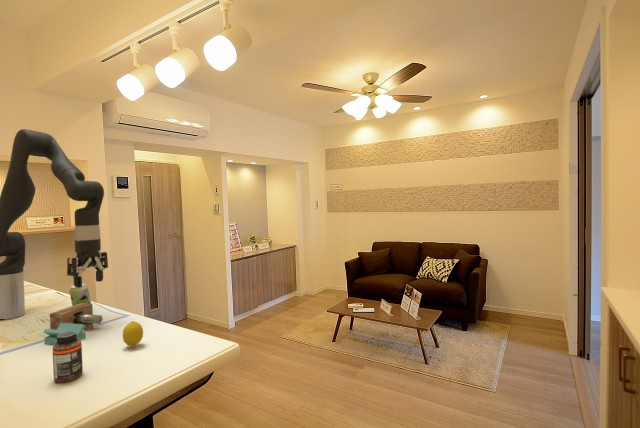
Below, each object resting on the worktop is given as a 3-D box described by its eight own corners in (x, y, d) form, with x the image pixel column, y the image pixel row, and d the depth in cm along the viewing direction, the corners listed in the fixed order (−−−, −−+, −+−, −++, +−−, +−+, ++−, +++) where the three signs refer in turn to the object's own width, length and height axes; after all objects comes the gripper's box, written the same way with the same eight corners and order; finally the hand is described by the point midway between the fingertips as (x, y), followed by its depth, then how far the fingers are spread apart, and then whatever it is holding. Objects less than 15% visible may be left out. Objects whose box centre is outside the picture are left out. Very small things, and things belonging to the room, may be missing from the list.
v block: (43, 344, 106) (42, 329, 106) (63, 335, 113) (63, 322, 113) (67, 346, 105) (66, 331, 104) (86, 337, 111) (85, 323, 111)
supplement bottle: (64, 372, 89) (62, 329, 88) (87, 371, 89) (86, 328, 89) (47, 384, 83) (46, 339, 82) (73, 383, 83) (71, 338, 83)
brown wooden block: (50, 333, 115) (49, 313, 114) (81, 321, 127) (80, 303, 126) (76, 336, 113) (75, 315, 113) (105, 323, 125) (105, 304, 124)
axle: (61, 322, 119) (62, 313, 120) (68, 321, 122) (70, 312, 123) (94, 324, 117) (96, 315, 117) (101, 323, 120) (103, 314, 120)
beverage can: (95, 310, 139) (94, 281, 139) (81, 316, 132) (80, 286, 132) (81, 310, 140) (80, 281, 140) (66, 316, 133) (65, 286, 132)
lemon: (147, 344, 106) (146, 319, 106) (132, 351, 101) (131, 325, 100) (134, 342, 108) (133, 317, 107) (118, 349, 102) (117, 323, 102)
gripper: (95, 236, 125) (97, 279, 126) (59, 240, 111) (61, 289, 112) (113, 236, 124) (114, 280, 124) (78, 240, 110) (80, 290, 110)
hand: (89, 284), depth 118 cm, fingers open, 8 cm apart
